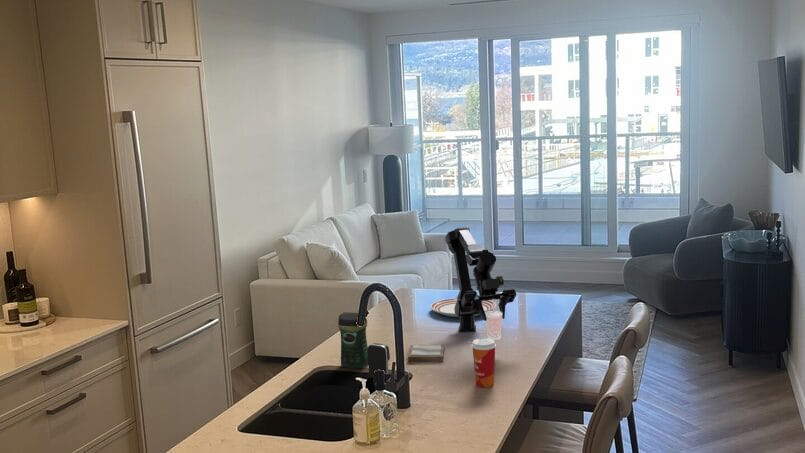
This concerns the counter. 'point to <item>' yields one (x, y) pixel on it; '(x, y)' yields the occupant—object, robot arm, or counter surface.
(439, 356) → the plinth
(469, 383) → the counter surface
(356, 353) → the coffee jar
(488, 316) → the beverage cup
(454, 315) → the dinner plate
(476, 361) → the paper cup
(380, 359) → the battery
